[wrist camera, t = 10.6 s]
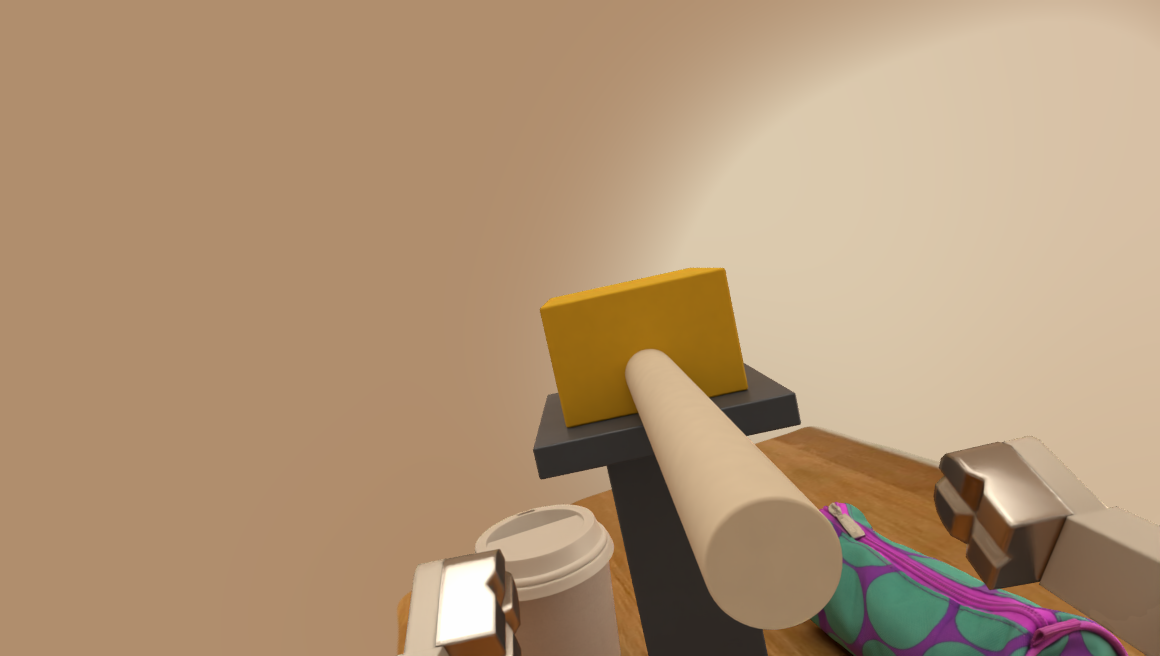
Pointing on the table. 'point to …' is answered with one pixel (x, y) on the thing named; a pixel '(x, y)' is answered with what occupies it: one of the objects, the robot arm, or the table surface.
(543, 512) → the coffee cup
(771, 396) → the stand
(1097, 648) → the pencil case
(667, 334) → the sponge wand
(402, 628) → the table surface
